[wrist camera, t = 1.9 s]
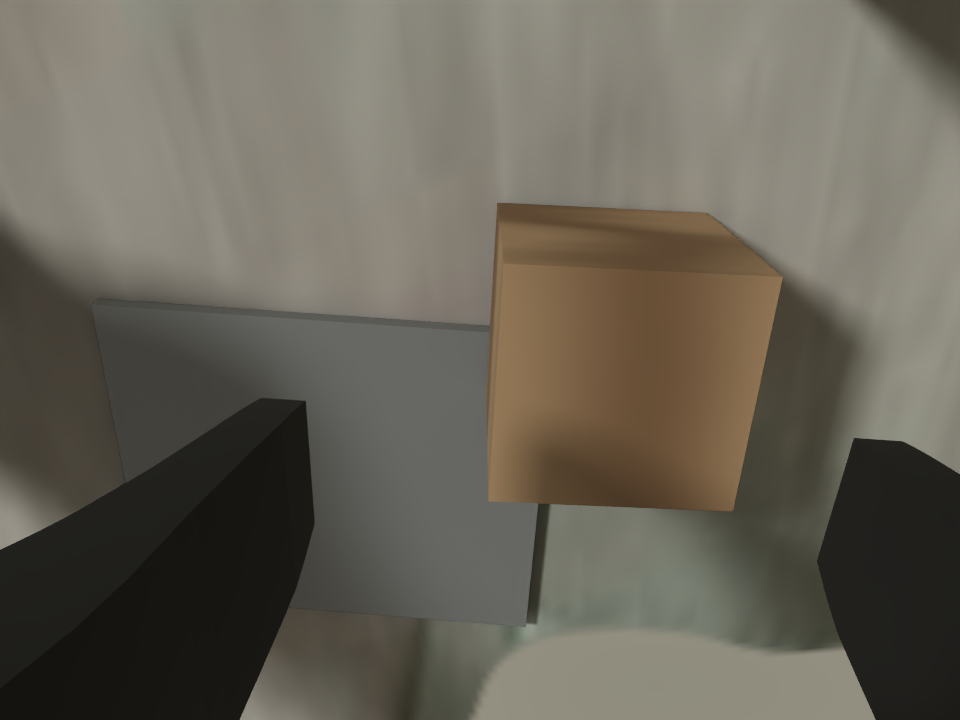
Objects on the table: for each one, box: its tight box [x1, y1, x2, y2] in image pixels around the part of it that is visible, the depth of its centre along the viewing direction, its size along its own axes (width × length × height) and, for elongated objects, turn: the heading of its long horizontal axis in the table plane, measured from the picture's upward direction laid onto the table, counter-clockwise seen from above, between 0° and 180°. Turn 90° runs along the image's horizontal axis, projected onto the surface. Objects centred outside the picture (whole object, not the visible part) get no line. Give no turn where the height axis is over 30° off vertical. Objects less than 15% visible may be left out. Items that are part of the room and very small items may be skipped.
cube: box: [486, 203, 783, 511], centre depth 17 cm, size 5×5×5 cm
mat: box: [91, 299, 538, 627], centre depth 22 cm, size 12×10×1 cm
